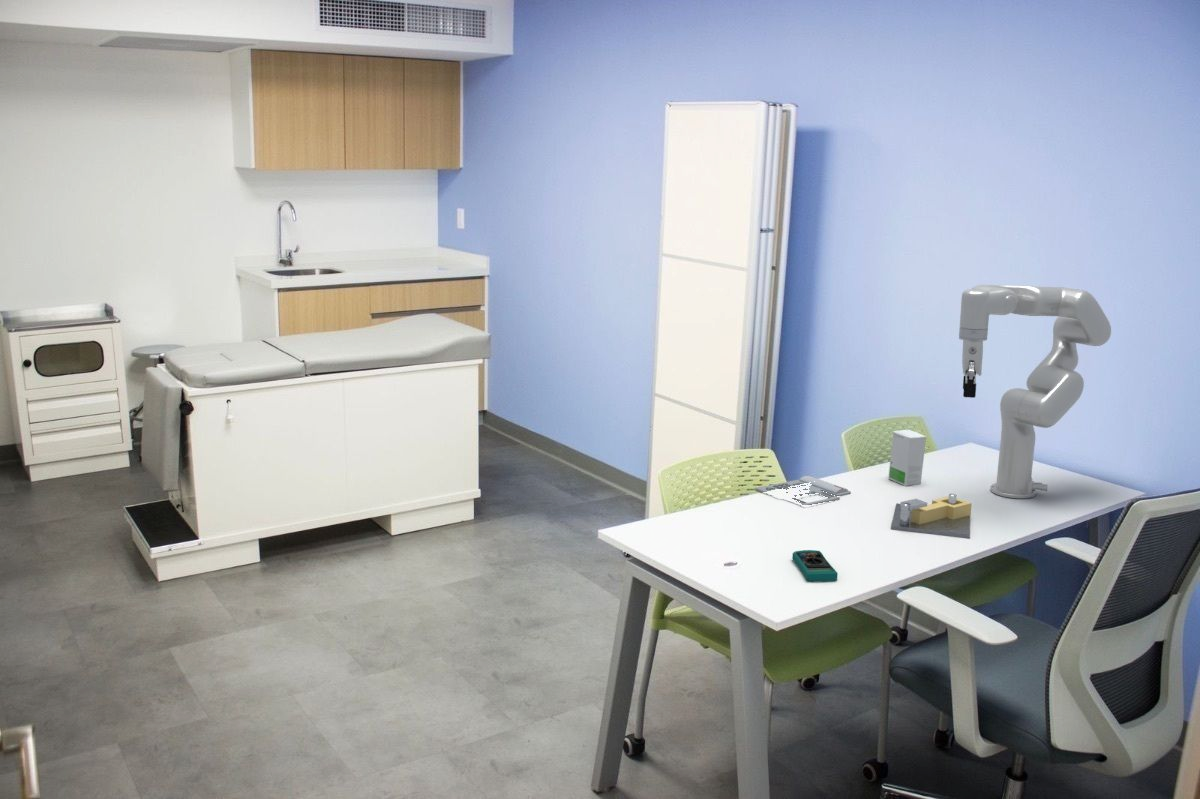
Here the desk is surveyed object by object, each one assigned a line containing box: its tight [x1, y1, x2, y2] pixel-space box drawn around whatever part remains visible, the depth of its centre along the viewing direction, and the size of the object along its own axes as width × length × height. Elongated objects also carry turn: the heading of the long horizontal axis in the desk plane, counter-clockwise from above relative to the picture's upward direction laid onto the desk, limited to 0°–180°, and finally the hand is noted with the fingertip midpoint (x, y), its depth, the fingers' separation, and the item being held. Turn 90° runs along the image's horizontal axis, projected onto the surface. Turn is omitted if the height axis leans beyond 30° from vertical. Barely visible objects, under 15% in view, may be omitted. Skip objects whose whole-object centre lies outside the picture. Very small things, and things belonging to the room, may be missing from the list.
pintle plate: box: [890, 493, 971, 539], centre depth 286 cm, size 20×20×7 cm
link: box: [911, 495, 972, 525], centre depth 288 cm, size 18×7×4 cm, turn 123°
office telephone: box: [754, 475, 852, 505], centre depth 311 cm, size 23×3×20 cm
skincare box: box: [887, 429, 927, 487], centre depth 321 cm, size 8×7×16 cm
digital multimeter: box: [791, 549, 839, 582], centre depth 253 cm, size 7×15×3 cm, turn 5°
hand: (968, 393), depth 297 cm, fingers open, 9 cm apart
